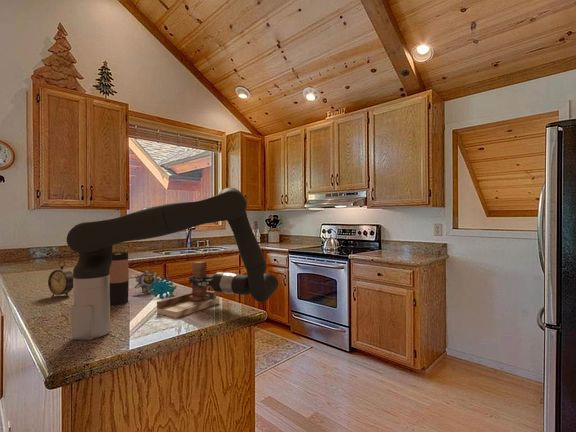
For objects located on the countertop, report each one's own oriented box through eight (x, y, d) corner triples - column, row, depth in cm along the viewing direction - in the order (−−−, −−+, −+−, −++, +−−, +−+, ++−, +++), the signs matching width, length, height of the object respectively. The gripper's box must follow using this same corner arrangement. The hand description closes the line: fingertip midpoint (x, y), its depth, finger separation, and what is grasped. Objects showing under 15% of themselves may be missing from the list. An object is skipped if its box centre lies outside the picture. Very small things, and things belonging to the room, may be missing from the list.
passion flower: (149, 305, 145) (134, 286, 139) (141, 296, 153) (126, 278, 147) (170, 288, 150) (156, 270, 144) (161, 280, 158) (148, 263, 152)
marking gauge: (200, 302, 120) (201, 263, 121) (189, 300, 123) (189, 262, 124) (211, 299, 125) (211, 261, 125) (199, 297, 128) (199, 261, 129)
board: (176, 318, 109) (176, 305, 109) (157, 313, 114) (156, 301, 114) (218, 303, 127) (218, 292, 127) (200, 300, 132) (200, 289, 132)
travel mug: (103, 303, 128) (102, 253, 128) (121, 299, 135) (120, 251, 135) (115, 306, 124) (114, 254, 124) (133, 301, 131) (132, 252, 131)
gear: (148, 296, 133) (151, 276, 140) (147, 303, 137) (149, 284, 144) (176, 296, 137) (177, 277, 144) (174, 304, 141) (175, 285, 148)
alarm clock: (47, 296, 140) (46, 260, 140) (59, 293, 146) (58, 258, 146) (66, 298, 137) (65, 260, 137) (77, 295, 142) (77, 259, 142)
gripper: (239, 269, 124) (206, 266, 132) (214, 275, 111) (179, 271, 120) (239, 289, 124) (206, 284, 132) (214, 297, 111) (179, 291, 120)
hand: (194, 278), depth 126 cm, fingers closed on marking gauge, 4 cm apart
